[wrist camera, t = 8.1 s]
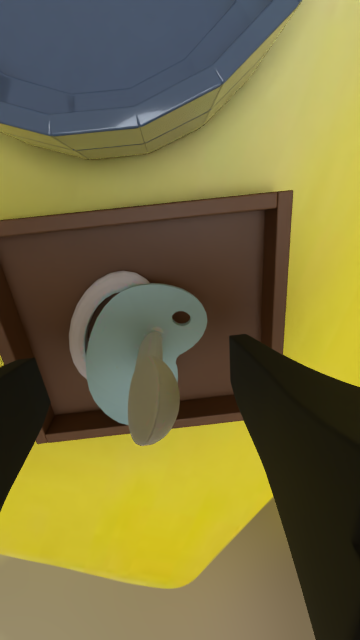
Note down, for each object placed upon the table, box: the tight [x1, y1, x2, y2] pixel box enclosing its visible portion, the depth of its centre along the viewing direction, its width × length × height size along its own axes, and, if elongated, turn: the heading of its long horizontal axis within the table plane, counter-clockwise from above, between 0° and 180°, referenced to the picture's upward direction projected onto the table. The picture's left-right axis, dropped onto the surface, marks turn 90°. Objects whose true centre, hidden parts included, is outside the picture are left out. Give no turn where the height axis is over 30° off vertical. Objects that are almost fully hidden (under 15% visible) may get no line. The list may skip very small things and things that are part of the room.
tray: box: [0, 190, 293, 444], centre depth 13 cm, size 13×11×2 cm
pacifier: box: [69, 271, 207, 446], centre depth 11 cm, size 7×6×6 cm
